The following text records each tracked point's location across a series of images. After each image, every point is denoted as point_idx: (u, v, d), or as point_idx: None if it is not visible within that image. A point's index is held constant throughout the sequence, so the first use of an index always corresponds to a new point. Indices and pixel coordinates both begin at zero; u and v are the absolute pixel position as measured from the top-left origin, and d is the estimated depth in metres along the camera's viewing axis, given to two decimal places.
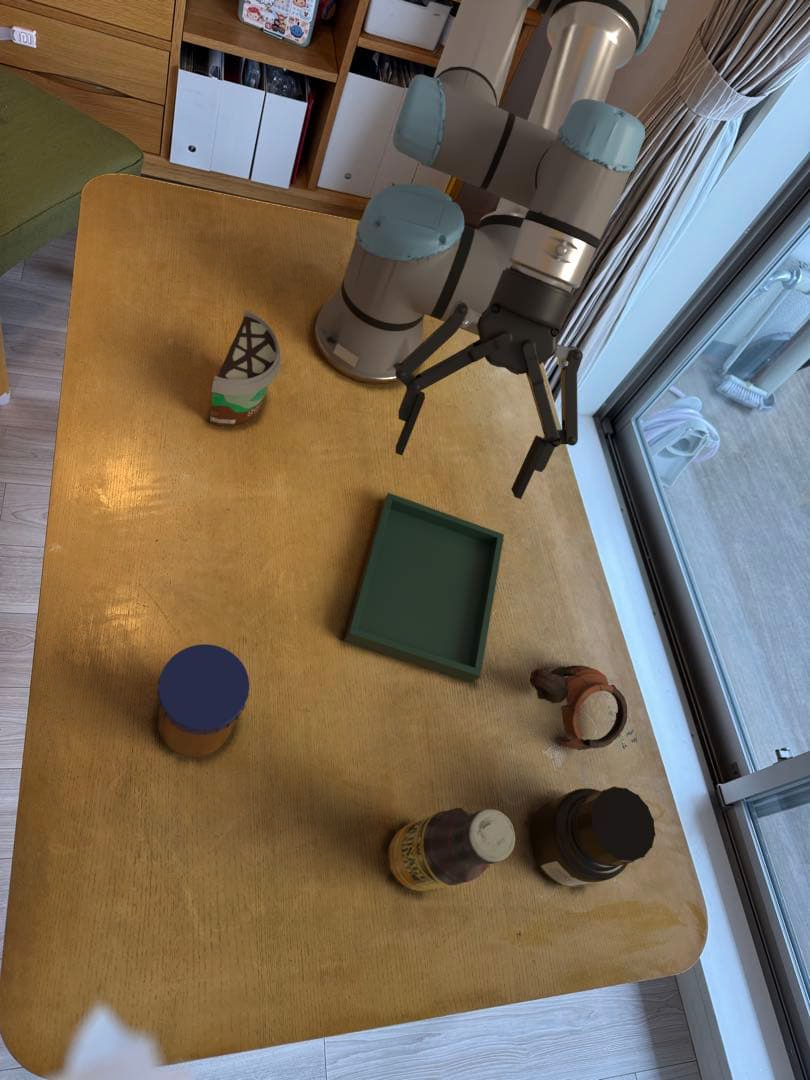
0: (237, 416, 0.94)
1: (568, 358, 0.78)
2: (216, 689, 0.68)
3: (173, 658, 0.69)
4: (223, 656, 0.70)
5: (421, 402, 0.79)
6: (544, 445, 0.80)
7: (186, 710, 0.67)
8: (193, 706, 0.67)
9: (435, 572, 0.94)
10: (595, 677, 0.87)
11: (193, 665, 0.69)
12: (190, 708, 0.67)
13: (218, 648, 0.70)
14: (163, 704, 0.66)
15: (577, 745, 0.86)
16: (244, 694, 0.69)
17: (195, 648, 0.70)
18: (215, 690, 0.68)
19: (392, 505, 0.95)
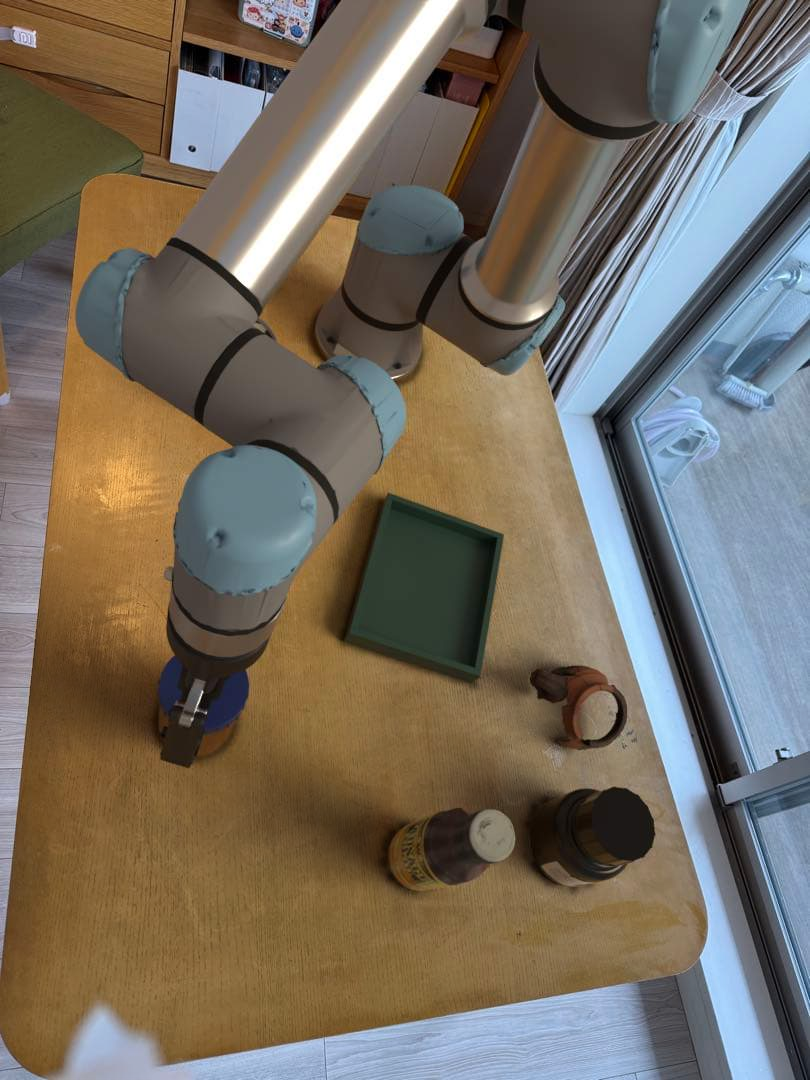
0: None
1: None
2: None
3: (173, 658, 0.69)
4: None
5: None
6: None
7: None
8: None
9: (435, 572, 0.94)
10: (595, 677, 0.87)
11: None
12: None
13: None
14: (163, 704, 0.66)
15: (577, 745, 0.86)
16: (244, 694, 0.69)
17: None
18: None
19: (392, 505, 0.95)
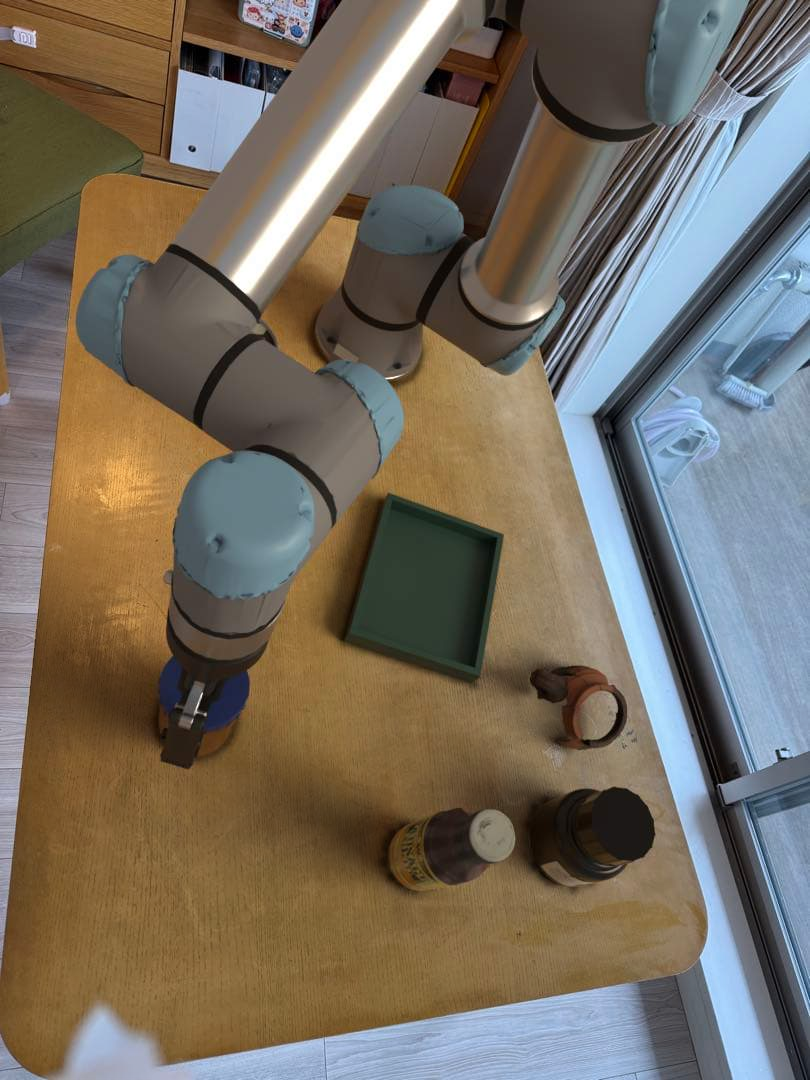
0: None
1: None
2: None
3: None
4: (173, 666, 0.68)
5: None
6: None
7: (230, 700, 0.68)
8: (226, 694, 0.68)
9: (435, 572, 0.94)
10: (595, 677, 0.87)
11: None
12: (228, 697, 0.68)
13: (164, 671, 0.68)
14: (223, 722, 0.67)
15: (577, 745, 0.86)
16: None
17: (163, 694, 0.67)
18: None
19: (392, 505, 0.95)
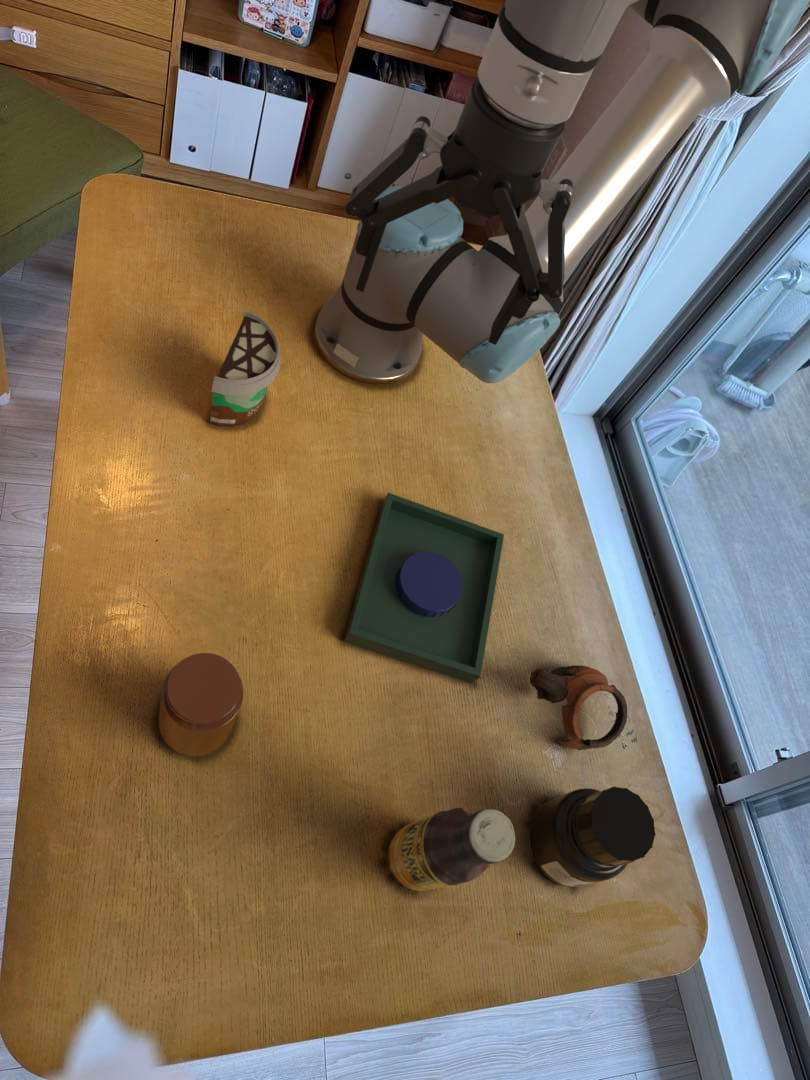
0: (237, 416, 0.94)
1: (554, 202, 0.62)
2: (423, 577, 0.91)
3: (456, 600, 0.90)
4: (421, 601, 0.89)
5: (378, 241, 0.68)
6: (521, 296, 0.69)
7: (441, 564, 0.92)
8: (437, 566, 0.92)
9: None
10: (595, 677, 0.87)
11: (441, 595, 0.90)
12: (439, 565, 0.92)
13: (425, 607, 0.89)
14: (457, 569, 0.92)
15: (577, 745, 0.86)
16: (403, 572, 0.90)
17: (442, 608, 0.89)
18: (424, 576, 0.91)
19: (392, 505, 0.95)
